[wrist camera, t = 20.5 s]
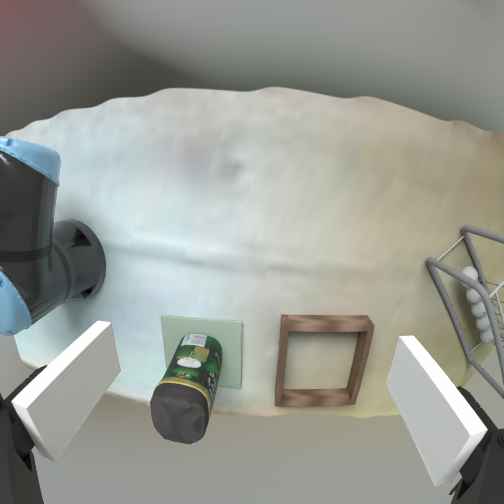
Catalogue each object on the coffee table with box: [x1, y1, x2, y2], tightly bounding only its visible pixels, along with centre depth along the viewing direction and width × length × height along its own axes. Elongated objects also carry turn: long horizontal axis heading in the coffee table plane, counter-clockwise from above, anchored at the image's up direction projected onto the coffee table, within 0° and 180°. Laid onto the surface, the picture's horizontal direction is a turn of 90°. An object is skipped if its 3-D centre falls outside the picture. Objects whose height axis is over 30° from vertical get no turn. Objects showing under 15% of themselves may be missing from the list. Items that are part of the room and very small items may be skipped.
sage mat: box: [161, 315, 242, 388], centre depth 51 cm, size 14×14×1 cm
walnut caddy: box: [275, 315, 374, 407], centre depth 49 cm, size 15×17×4 cm
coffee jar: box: [150, 334, 222, 444], centre depth 42 cm, size 10×8×19 cm
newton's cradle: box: [427, 225, 504, 399], centre depth 38 cm, size 30×10×18 cm, turn 38°
